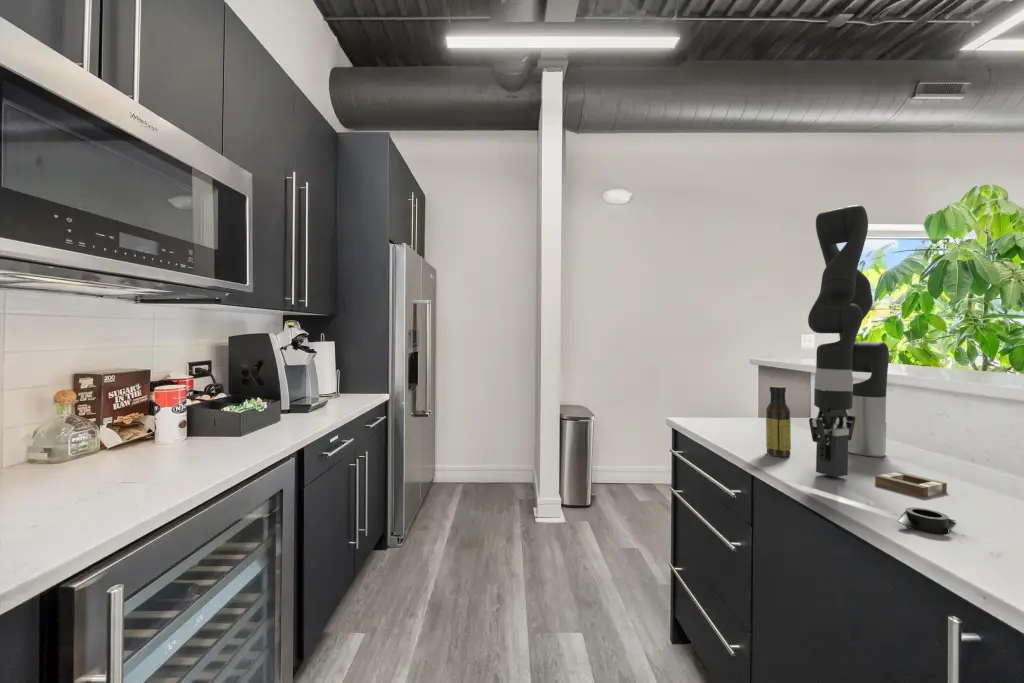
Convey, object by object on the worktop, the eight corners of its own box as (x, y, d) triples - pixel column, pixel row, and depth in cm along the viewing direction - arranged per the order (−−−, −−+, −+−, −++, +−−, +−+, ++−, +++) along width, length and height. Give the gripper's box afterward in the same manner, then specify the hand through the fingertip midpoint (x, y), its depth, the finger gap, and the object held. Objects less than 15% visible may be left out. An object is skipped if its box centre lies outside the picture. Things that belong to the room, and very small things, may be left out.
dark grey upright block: (827, 469, 115) (829, 424, 114) (847, 475, 110) (848, 428, 110) (815, 471, 113) (816, 426, 113) (835, 477, 108) (836, 429, 108)
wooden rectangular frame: (898, 484, 110) (898, 471, 110) (946, 496, 101) (946, 482, 101) (875, 489, 106) (875, 475, 106) (923, 502, 98) (923, 487, 98)
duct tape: (884, 517, 90) (885, 502, 90) (951, 526, 86) (952, 510, 86) (900, 532, 83) (900, 516, 83) (973, 542, 79) (974, 525, 79)
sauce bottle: (790, 454, 137) (792, 386, 137) (790, 458, 132) (792, 388, 132) (765, 451, 140) (767, 384, 140) (764, 455, 135) (766, 386, 135)
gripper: (836, 385, 118) (834, 453, 118) (798, 387, 112) (796, 458, 112) (869, 388, 111) (867, 460, 111) (830, 390, 105) (828, 466, 105)
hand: (831, 459), depth 112 cm, fingers closed on dark grey upright block, 4 cm apart
